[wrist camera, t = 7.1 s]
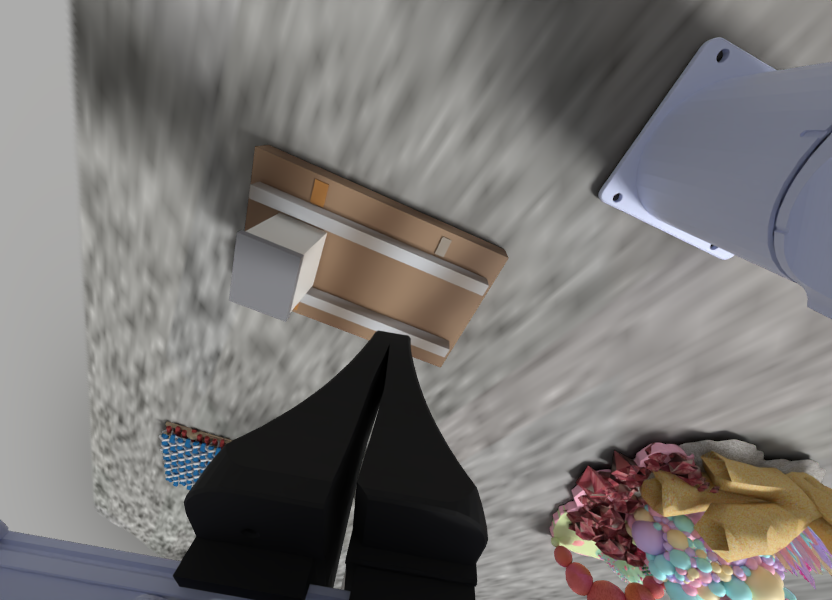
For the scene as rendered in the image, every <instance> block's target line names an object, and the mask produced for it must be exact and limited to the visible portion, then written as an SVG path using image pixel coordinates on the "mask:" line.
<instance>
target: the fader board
mask: <svg viewBox="0 0 832 600" xmlns="http://www.w3.org/2000/svg"><path fill="white" fill-rule="evenodd" d="M278 213H282V214H284V215H287V216H289V217H292V218H294V219H296V220H299V221H301V222H304V223H306V224H308V225H311V226H313V227H315V228H318V229H320V230H323V231H325V232H327V236H326V239H325V243H324V247H323V250H322V254H321V258H320V261H319V265H318V269H317V272H316V276H315V280H314V283H313V286H312V287H311V288H310V289H309V290H308V292H307V293H306V294H305V295H304V297H303V298H302V299H301V300H300V301H299V303H298V304H297V305H296V306H295V307H294V309H293V310H292V311H293V312H296V313H299V314H301V315H304V316H307V317H309V318H312V319H314V320H317V321H320V322H322V323H325V324H328V325H330V326H333V327H335V328H338V329H341V330H343V331H346V332H349V333H351V334H354V335H357V336H359V337H362V338H364V339H367V340H370V339H371V338H372V336H373V335H374V333H375V332H376V331H378V330H379V331H385V332H390V333H396V334H402V335H408V336H409V337H410V338H411V352H412V357H414V358H417V359H420V360H422V361H425V362H428V363H430V364H433V365H436V366H438V367H441V366H442V365H443V363H444V361H445V360H446V358H447V356H448V355H449V353H450V352H451V350H452V348H453V347H454V345H455V344H456V342H457V340H458V339H459V337H460V336H461V334H462V332H463V331H464V329H465V327H466V326H467V324H468V323H469V321H470V319H471V318H472V316H473V315H474V313H475V311H476V310H477V308H478V307H479V305H480V303H481V302H482V300H483V298H484V297H485V295H486V294H487V292H488V290H489V289H490V287H491V286H492V284H493V282H494V281H495V279H496V278H497V276H498V274H499V273H500V271H501V269H502V268H503V266H504V265H505V263H506V261H507V260H508V256H507V254H506V251H505V250H504V249H502V248H500V247H498V246H495V245H493V244H491V243H489V242H486V241H484V240H482V239H480V238H477V237H475V236H473V235H471V234H468V233H466V232H464V231H462V230H459V229H457V228H455V227H453V226H450V225H448V224H446V223H444V222H441V221H439V220H437V219H435V218H432V217H430V216H428V215H426V214H423V213H421V212H419V211H417V210H414V209H412V208H410V207H408V206H405V205H403V204H401V203H399V202H396V201H394V200H392V199H390V198H387V197H385V196H383V195H381V194H378V193H376V192H374V191H371V190H369V189H367V188H365V187H362V186H360V185H358V184H356V183H353V182H351V181H349V180H347V179H344V178H342V177H340V176H338V175H335V174H333V173H331V172H329V171H326V170H324V169H322V168H320V167H317V166H315V165H313V164H311V163H308V162H306V161H304V160H302V159H299V158H297V157H295V156H293V155H290V154H288V153H286V152H284V151H281V150H279V149H277V148H275V147H272V146H270V145H263V146H255V152H254V160H253V168H252V175H251V183H250V190H249V199H248V207H247V215H246V223H245V231H247V230H249V229H250V228H252V227H254V226H256V225H258V224H260V223H262V222H263V221H265V220H267V219H269V218H271V217H273V216H275V215H277V214H278Z"/></svg>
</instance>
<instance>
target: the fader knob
mask: <svg viewBox="0 0 832 600" xmlns="http://www.w3.org/2000/svg"><path fill="white" fill-rule="evenodd" d="M326 236H327V232H325V231H323V230H320V229H318V228H315V227H313V226H311V225H308V224H306V223H304V222H301V221H299V220H296V219H294V218H292V217H289V216H287V215H284V214H282V213H278V214H277V215H275V216H273V217H271V218H269V219H267V220H265V221H263V222H262V223H260V224H258V225H256V226H254V227H252V228H250V229H249V230H247V231H244V230H240V231H238V232H237V235H236V244H235V253H234V261H233V270H232V279H231V288H230V297H229V301H232V302H234V303H237V304H240V305H242V306H245V307H248V308H250V309H253V310H256V311H258V312H261V313H264V314H266V315H269V316H272V317H274V318H277V319H280V320H282V321H285V322H286V321H287V320H288V318H289V315H290V312H291V311H292V310H293V309H294V307H295V306H296V305H297V304H298V303H299V301H300V300H301V299H302V298H303V297H304V295H305V294H306V293H307V292H308V290H309V289H310V288H311V287H312V286H313V283H314V280H315V276H316V272H317V269H318V265H319V261H320V258H321V254H322V250H323V247H324V243H325V239H326Z"/></svg>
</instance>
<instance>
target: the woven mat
mask: <svg viewBox="0 0 832 600" xmlns="http://www.w3.org/2000/svg"><path fill="white" fill-rule="evenodd" d="M166 426H167V427H166V430H163V431H162V433H164V434H162V436H161V435H159V436H158V437H159V438H160V439H161V442H162V444H161V446H162V447H163V448H160V450H163V452H162V454H163V461H164V464H165V465H164V468H165V477H166V480H168V481H169V482H172V481H174V484H173V485H174V486H178V481H180V484H182V485H183V486H185V485H186V484H187V485H188V486H187V489H188V490H191V488H192V487H191V486H192V485H193V484H195V483H196V481H197V480H198V478H199V477H200V476H201V474H202V473H203V471H204V470H205V468H206V467H207V466H208V464H209V463H210V462H211V461H212V460H213V458H214V457H215V456H216V455H217V454H218V453H219V452H220V450H221V449H222V448H223V447H224V446H225V444H224V443H226V444H227V443H229V442H231V441H232V440H229V439H226V438H222V437H219V436H215V435H212V434H208V433H205V432H202V431H199V432H198V430H195V429H193V430H192V429H191V428H188V427H184V426H181V425H177V424H174V423H171V422H166ZM174 428H175V430H174ZM180 430H181V431H182V432H180ZM181 437H182V438H181ZM202 437H205V438H202ZM209 439H212V440H209ZM167 474H168V475H167Z"/></svg>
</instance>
